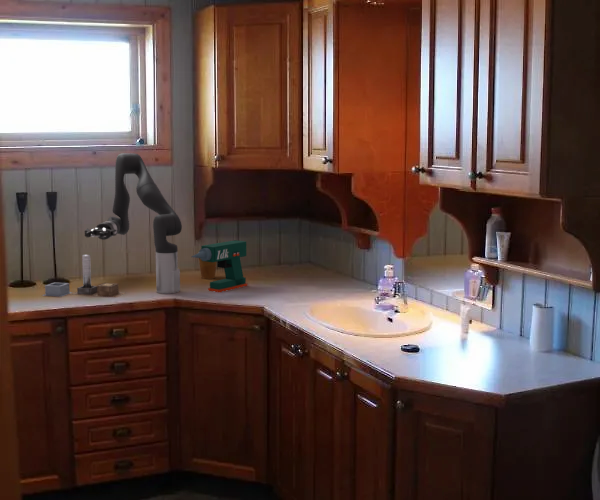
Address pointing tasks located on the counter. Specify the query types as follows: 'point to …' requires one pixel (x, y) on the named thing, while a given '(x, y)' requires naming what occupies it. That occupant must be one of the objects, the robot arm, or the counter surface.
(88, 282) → the pale grey rod
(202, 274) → the disposable coffee cup
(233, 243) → the power tool
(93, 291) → the socket block
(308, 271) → the counter surface
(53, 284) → the gray square socket
